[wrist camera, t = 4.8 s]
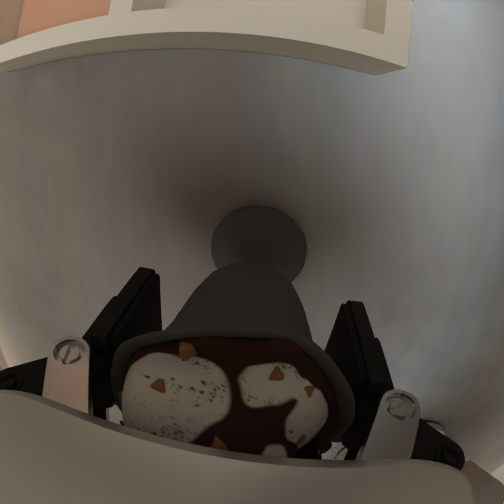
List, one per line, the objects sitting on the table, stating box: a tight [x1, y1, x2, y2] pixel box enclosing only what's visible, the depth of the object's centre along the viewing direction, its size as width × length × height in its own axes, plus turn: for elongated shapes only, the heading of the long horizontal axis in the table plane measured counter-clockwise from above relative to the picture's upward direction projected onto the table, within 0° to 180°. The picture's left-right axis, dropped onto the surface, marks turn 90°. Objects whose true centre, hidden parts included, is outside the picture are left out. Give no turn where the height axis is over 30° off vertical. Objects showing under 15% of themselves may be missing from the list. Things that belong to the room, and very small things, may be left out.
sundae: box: [110, 206, 356, 460], centre depth 10 cm, size 7×7×15 cm
